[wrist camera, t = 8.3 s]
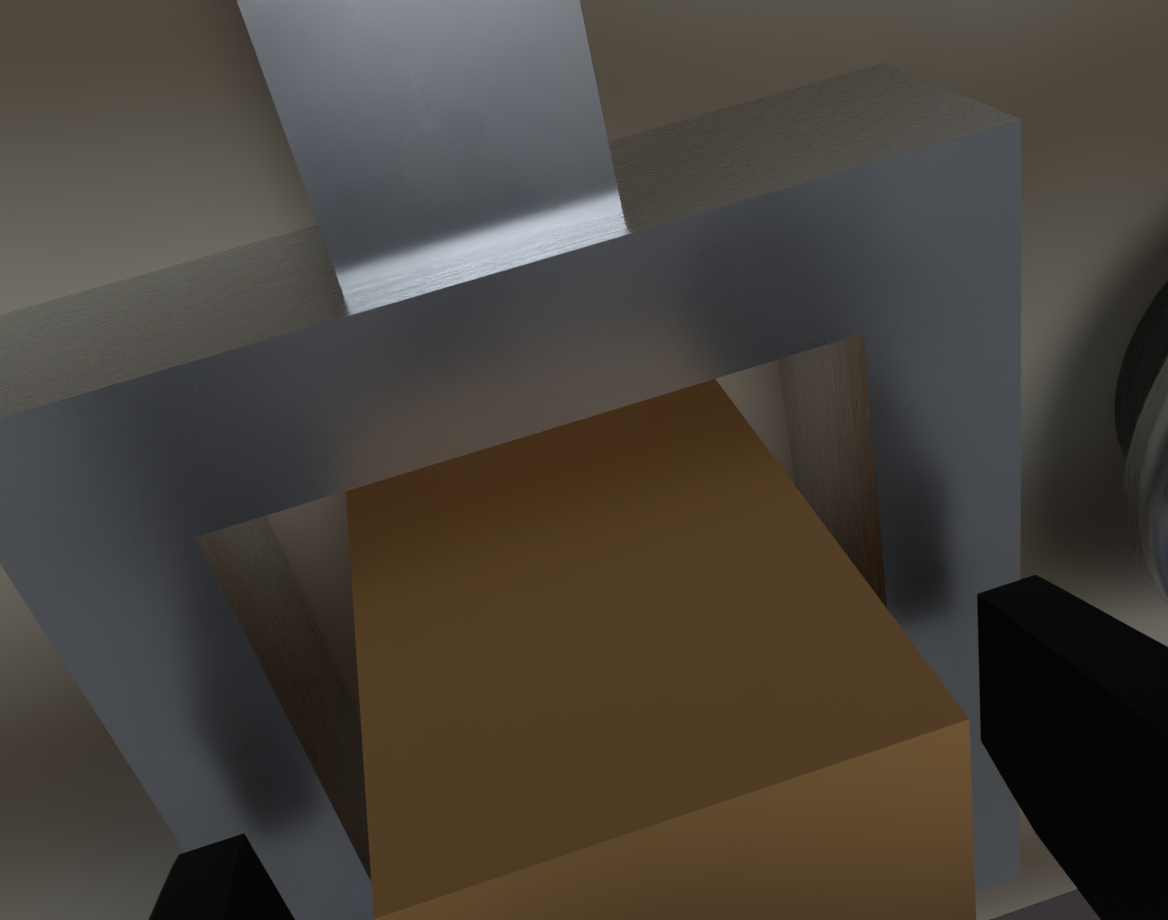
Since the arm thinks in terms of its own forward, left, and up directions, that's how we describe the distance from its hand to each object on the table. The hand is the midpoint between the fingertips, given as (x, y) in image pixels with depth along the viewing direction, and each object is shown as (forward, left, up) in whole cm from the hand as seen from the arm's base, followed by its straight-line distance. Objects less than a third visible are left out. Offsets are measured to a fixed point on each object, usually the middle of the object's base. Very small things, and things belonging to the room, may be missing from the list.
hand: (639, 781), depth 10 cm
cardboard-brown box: (0, 0, -3) cm, 3 cm away
